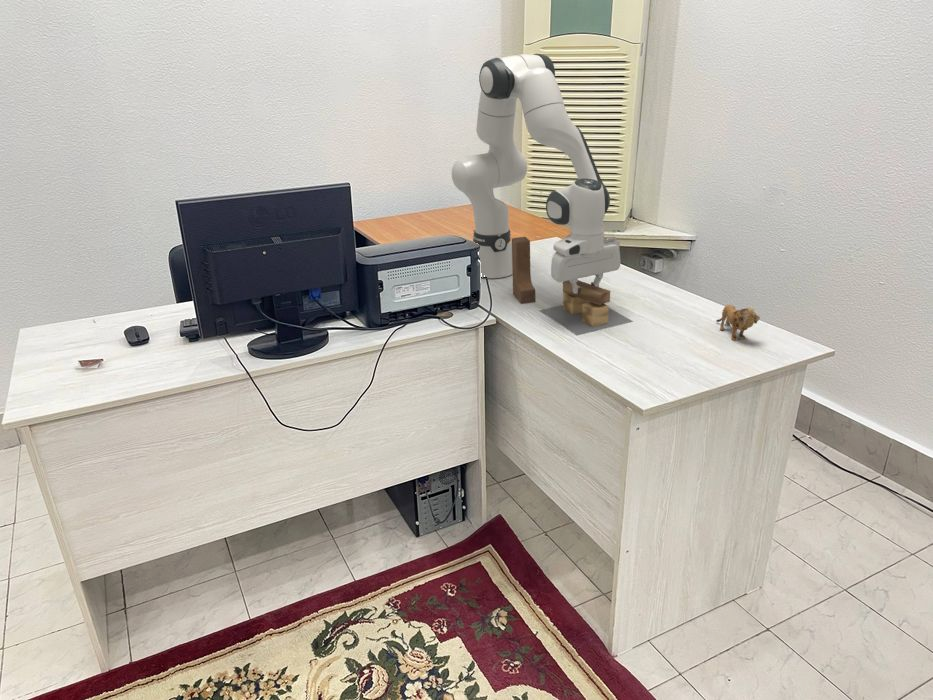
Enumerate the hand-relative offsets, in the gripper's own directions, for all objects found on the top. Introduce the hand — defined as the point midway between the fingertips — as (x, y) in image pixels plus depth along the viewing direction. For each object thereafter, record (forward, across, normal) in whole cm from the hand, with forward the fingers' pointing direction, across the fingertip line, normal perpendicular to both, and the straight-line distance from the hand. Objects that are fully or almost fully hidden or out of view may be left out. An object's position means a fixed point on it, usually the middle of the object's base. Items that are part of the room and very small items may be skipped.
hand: (585, 290), depth 187 cm
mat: (+8, 0, 0) cm, 8 cm away
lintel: (+2, 0, 0) cm, 2 cm away
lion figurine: (+8, -27, +29) cm, 40 cm away
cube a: (+8, 0, -5) cm, 9 cm away
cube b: (+8, 0, +5) cm, 9 cm away
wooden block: (+8, +8, -21) cm, 24 cm away
